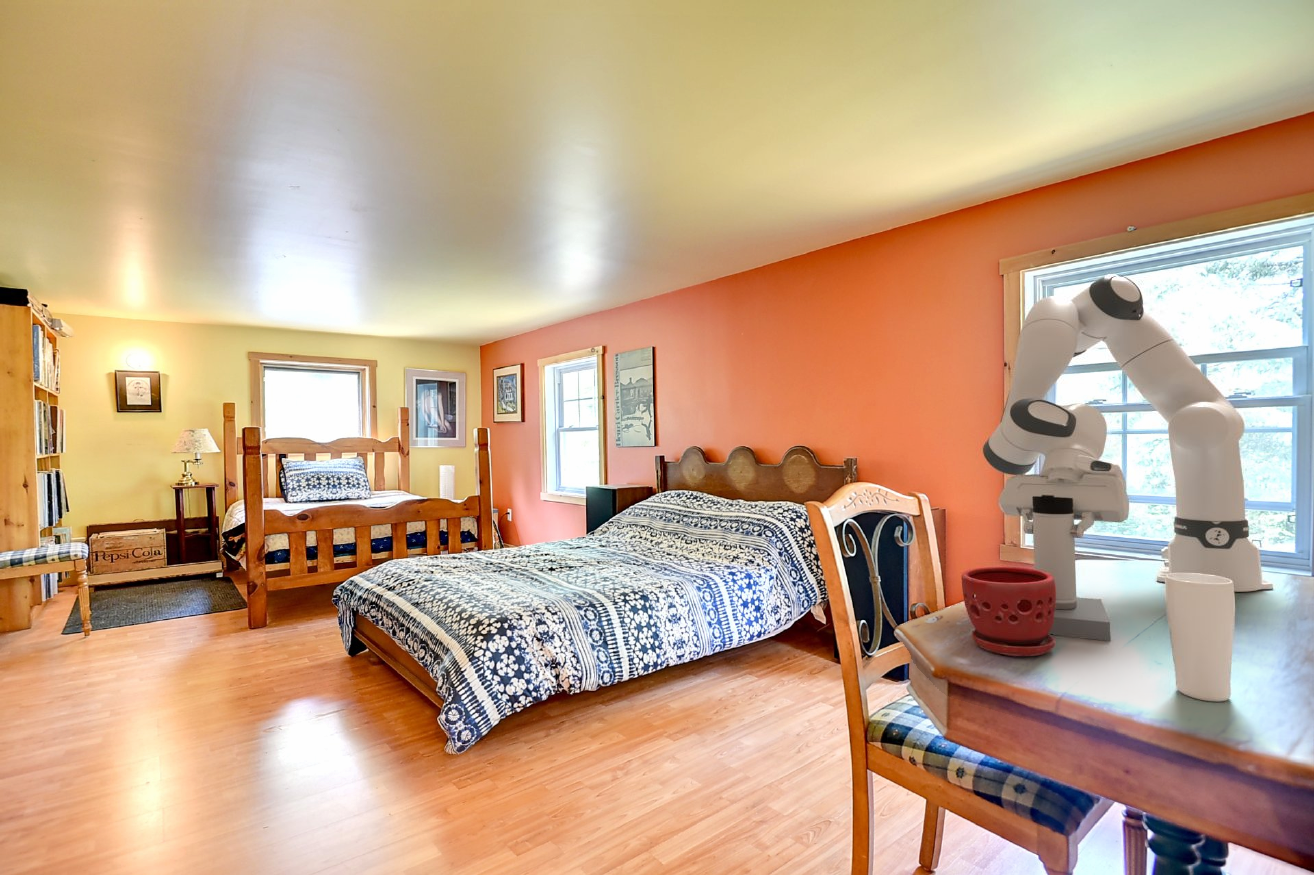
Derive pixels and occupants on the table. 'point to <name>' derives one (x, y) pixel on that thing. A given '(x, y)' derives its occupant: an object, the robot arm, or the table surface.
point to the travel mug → (1055, 545)
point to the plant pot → (1010, 609)
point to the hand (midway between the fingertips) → (1052, 533)
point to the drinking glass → (1201, 633)
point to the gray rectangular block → (1082, 620)
